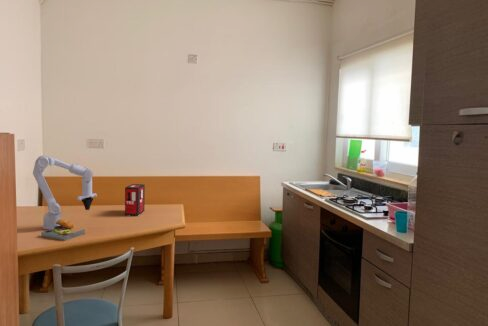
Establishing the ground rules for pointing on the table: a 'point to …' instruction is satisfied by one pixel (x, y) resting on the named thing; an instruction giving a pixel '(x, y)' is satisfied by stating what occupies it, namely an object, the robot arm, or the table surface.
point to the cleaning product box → (134, 199)
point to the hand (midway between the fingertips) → (87, 209)
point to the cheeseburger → (63, 227)
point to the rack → (61, 237)
